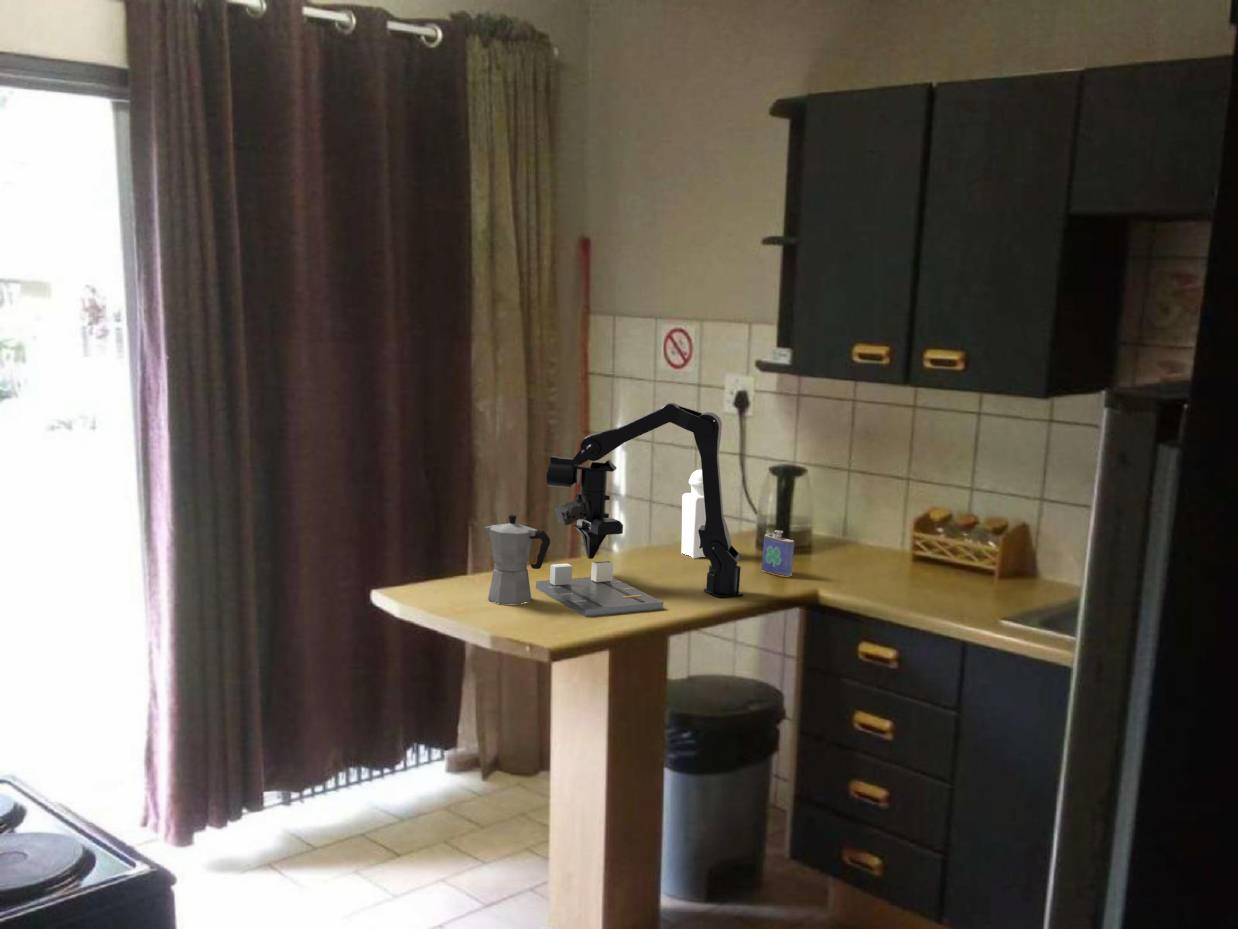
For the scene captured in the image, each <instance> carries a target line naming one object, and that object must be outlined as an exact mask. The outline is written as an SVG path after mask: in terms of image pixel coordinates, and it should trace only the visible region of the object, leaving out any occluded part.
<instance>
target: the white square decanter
mask: <svg viewBox="0 0 1238 929" xmlns="http://www.w3.org/2000/svg"><path fill="white" fill-rule="evenodd" d="M688 484H689V485H690V492H685V493H683V494H682V496H681V501H682V502H681V512H682V513H681V552H680V554H682V553H683V554H685V555H684V556H686V555H689V556H691V557H692V558H691V557H690V558H691V559H698V558H697V557H705V556H704V554H703V550H702V548H701V549H699V547H700V537H699V533H698V530H699V528H700V527H701V525H704V526H705V522H706V515H705V503H704V490H703V478H702V469H696V470H695V471H693V472H692V474H690V478H689V480H688ZM683 554H682V555H683Z"/></svg>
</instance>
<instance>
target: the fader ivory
mask: <svg viewBox="0 0 1238 929" xmlns="http://www.w3.org/2000/svg"><path fill="white" fill-rule="evenodd" d="M590 572H591V573H590V574H591V575H590V577H591V580H593V581H595V582H604V581H612V578H614V577H613V575H614V574H613V572H614V562H612V561H610V560H596V561H592V562H591V571H590Z"/></svg>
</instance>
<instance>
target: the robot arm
mask: <svg viewBox="0 0 1238 929" xmlns="http://www.w3.org/2000/svg"><path fill="white" fill-rule="evenodd" d="M668 423H670V424H673V425H676V426H677V427H680V428H682V429H684V430H687V431H689V432H692V434H693V437H694V441H695V445H696V447H697V450H698V453H699V456H700V463H701V465H700V466H701V470H702V478H703V490H704V503H705V515H706V522H705V526H704V525H701V527H700V528H699V530H698V533H699V537H700V547H699V549H701V548H702V550H703V554H704V556H705V557H706V558H707V559H708V560H709V562H710V564H709V566H708V567H709V568H708V572H707V575H706V587H705V588H703V591H704V592H706V593H707V594H710V595H712V596H714V597H717V598H729V597H730V598H732V597H740V596H741V597H742V596H744V592H742V591H740V584H741V583H740V582H741V566H739V565H738V562H739V559H740V558H741V554H740V553H739V551H738V550H737V549H736V548H735V547H734V546H733V545H732V540H731V539H732V538H731V535H730V531H729V528H728V524H727V522H726V519H725V516H724V506H723V504H724V503H723V495H722V494H723V492H722V481H721V469H720V457H719V456H720V455H719V454H720V453H719V452H720V445H721V440H722V431H723V430H722V429H723V423H722V420H721V417H720V416H719V415H717V414H716V413H714V412H709V411H707V412H703V413H702V412H699V411H696V410H694V409H691V408H687V407H685V406H681V405H679V404H677V403H675V402H668V403H667V404H665V405H663V406H662V407H660V408H658V409H656V410H653V411H652V412H649V413H647V414H645V415H643V416H641V417H638V418H636V419H634V420H631V421H629V422H627V423H625V424H622V425H621V426H619V427H617V426H616V427H614V428H609V429H605V430H601V431H597V432H594V433H591V434H589V435H587V436H586V437H584V438H583V439H582V441H581V443H580V450H579V451H578V452H577V454H575V455H574V456H573V458H572V457H562V456H561V457H560V456H558V455H557V456H556V455H553V456H551V457H550V458H549V464H548V467H547V472H546V484H547V487H553V488H567V489H574V488H575V486H576V485H579V483H580V492H577V493H576V494H575V500H573V501H569V502H567V503H565V504H562V505H560V506H558V507H555V509H554V512H555V513H556V518H557V521H558V523H559V524H563V525H564V526H569V525H572V524H573V523H574V522H576V525H575V524H574V525H573V527H574V529H576V531H578V532H579V533H580V535H581V538H582V540H583V541H582V542H583V544H584V550H585V552H586V556H587V559H589V560H594V559H595V556H596V554H597V552H598V551H599V549H600V547H601V546H602V543H603V542H604V540H605V538H606V537H607V536H608V535H622V534H624V524H623V523H622V522H621V520H619V519H615V518H613V517H612V518H610V513H608V512H606V506H607V501H610V500H611V498H610V497H611V496H610V495H609V494H607V487H608V486H607V484H608V472H611V473H612V472H614V471H616V470H617V466H616V465H615V464H614V463H612V461H611V459H607V460H606V461H605V462H598V461H599V460H601V459H603V458H604V457H606V456H607V455H609V454H610V453H612V451H613V452H614V450H617V449H618V448H619V447H620V446H621V445H623V444H624V443H627V442H629V441H631V440H633V439H635V438H638V437H640V436H642V435H644V434H646V433H647V434H648V432H651V431H653V430H655V429H657V428H660V427H662V426H665V425H667V424H668ZM587 461H591V464H590V465H585V464H584V463H586V462H587ZM583 464H584V465H583Z"/></svg>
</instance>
